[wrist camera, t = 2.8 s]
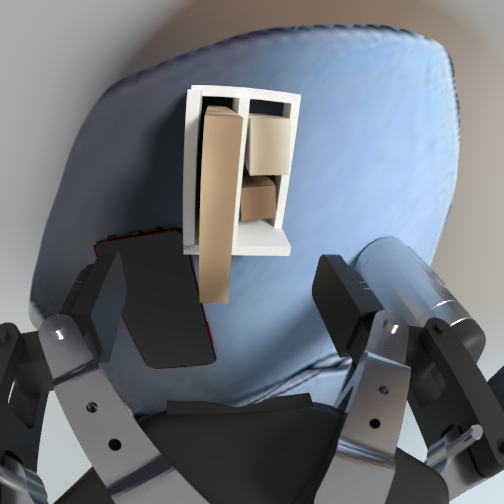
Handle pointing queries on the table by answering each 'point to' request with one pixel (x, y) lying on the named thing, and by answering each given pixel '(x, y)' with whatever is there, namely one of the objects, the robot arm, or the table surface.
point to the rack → (249, 231)
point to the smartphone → (162, 299)
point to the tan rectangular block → (218, 201)
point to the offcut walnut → (257, 198)
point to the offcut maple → (268, 145)
